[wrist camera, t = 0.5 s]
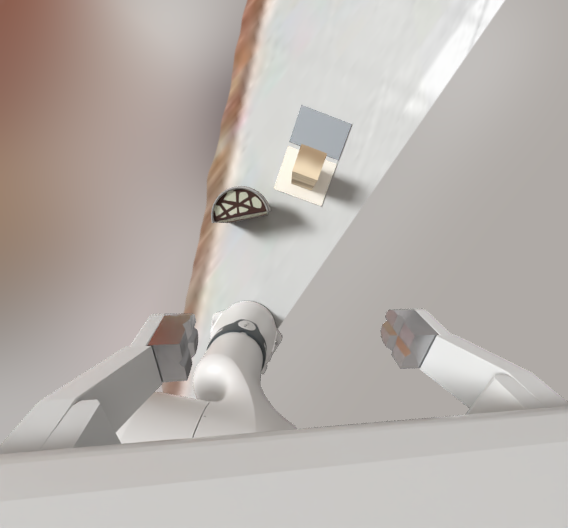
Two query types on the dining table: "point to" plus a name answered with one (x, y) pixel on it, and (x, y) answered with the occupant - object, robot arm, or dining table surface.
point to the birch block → (307, 167)
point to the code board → (320, 136)
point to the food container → (239, 205)
